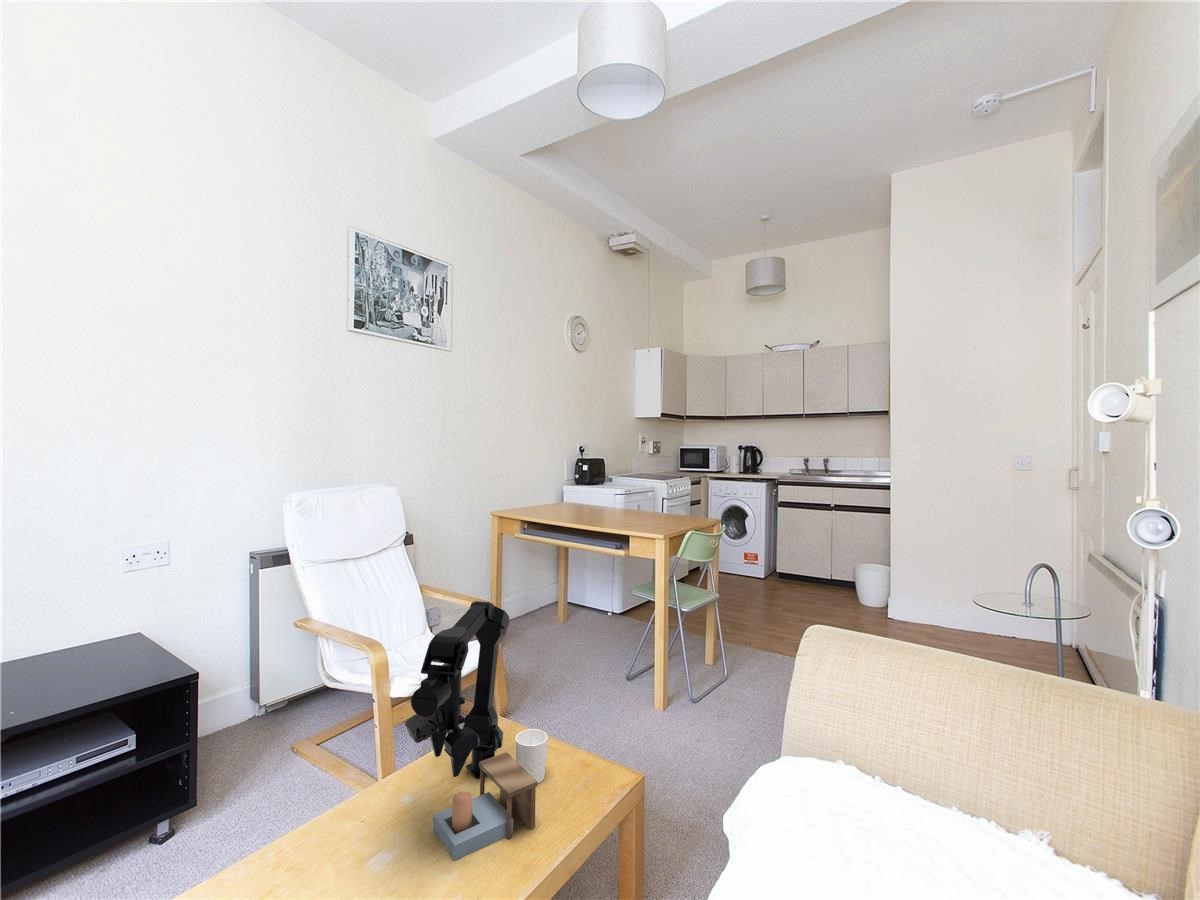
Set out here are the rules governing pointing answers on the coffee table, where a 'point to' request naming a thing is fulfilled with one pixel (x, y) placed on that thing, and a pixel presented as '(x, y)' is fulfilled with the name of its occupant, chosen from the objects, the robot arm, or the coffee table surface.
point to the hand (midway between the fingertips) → (446, 765)
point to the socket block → (473, 827)
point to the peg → (461, 812)
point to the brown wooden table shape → (511, 787)
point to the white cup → (532, 752)
